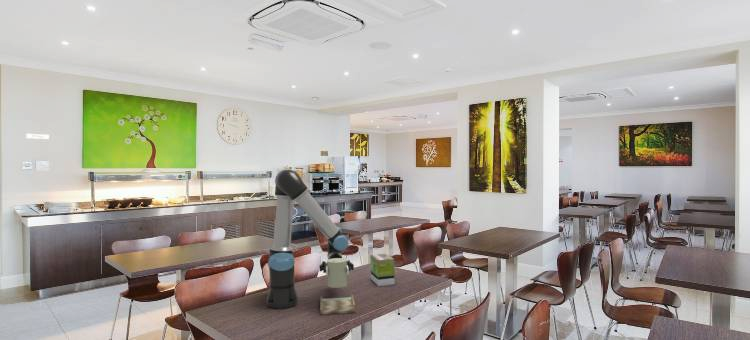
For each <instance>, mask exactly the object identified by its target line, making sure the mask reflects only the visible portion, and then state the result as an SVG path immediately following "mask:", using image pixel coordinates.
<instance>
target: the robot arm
mask: <svg viewBox="0 0 750 340" xmlns="http://www.w3.org/2000/svg"><path fill="white" fill-rule="evenodd" d="M274 181H275V182H274V183H275V188H274V196H275V198H277V199H276V201H277V202H276V211H275V219H274V233H273V244H272V246H271V247H269V253H268V259H267V266H268V269H269V290H268V294H267V297H266V301H265V302H266V303H265V304H266V305H267V306H268V308H269V307H270V308H269V309H274V308H275V310H276V309H279V310H281V309H288V308H292V307H294V306H297V305H298V304H299V296H298V293H297V290H296V286H295V257H294V255H293V251H294V249H293V247H292V246H291V242H292V241H291V240H292V231H293V230H292V228H293V219H294V218H293V217H294V208H295V207H294V206H295V202H296V204H297V205H298V206H299V207H300V208H301V210H302V211H303V212H304V213H305V215H306V216H307V217H308V218H309V219H310V220H311V221H312V223H314V225H315V227H317V229H318V230H319V231H320V232H321V233H322V235H323V236H324V237H325V238H326V239H327V254H326V255H327V257H326V258H327V260H329V259H333V258H343V252H344V251H345V250H347V248H348V246H349V239H348V238H347V237H346V235H344V234H343V232H342V231H343V230H342V227H340V226H337V225H336V224H335V223H334V222H333V220H332V219H331V217H329V215H328V214H327V212H325V210H324V209H323V208H322V207H321V205H320V204H319V203H318V202H317V201H316V199H315V198H314V197H313V196H312V195H311V193H310V192H309V191H308V190H309V188H308V186H307V185H306V184H305V182H304V181H303V179H302V177H301V176H300V175H299V173H298V172H297V171H296V170H292V169H283V170H281V171H279V172H278V173H277V174H276V176H275V179H274ZM354 270H355V265H354V263H353V262H351V260H349V259H348V260H347V275H350V272H351V271H354ZM319 272H323V273H324V274H325V276H328V267H327V261H325V260H324V261H321V264H320V265H319ZM267 306H266V307H267Z"/></svg>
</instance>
